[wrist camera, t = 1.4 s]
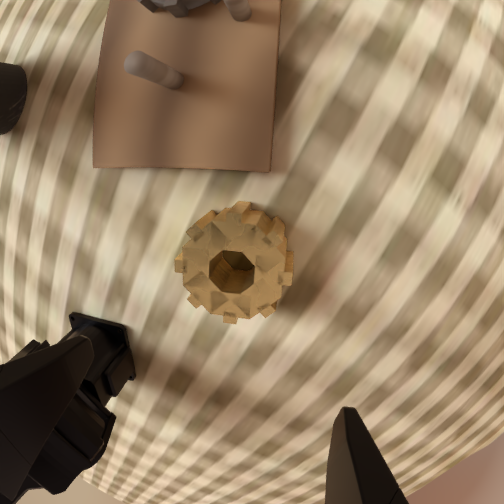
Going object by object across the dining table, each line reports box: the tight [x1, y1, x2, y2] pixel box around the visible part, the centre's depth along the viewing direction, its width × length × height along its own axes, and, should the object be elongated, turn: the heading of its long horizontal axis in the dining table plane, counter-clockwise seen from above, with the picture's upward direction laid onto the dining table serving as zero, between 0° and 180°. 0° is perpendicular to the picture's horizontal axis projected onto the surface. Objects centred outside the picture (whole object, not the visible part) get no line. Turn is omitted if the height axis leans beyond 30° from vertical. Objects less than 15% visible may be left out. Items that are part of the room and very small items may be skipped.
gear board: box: [93, 0, 281, 172], centre depth 13 cm, size 12×17×6 cm
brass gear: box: [175, 201, 293, 324], centre depth 19 cm, size 7×7×4 cm
